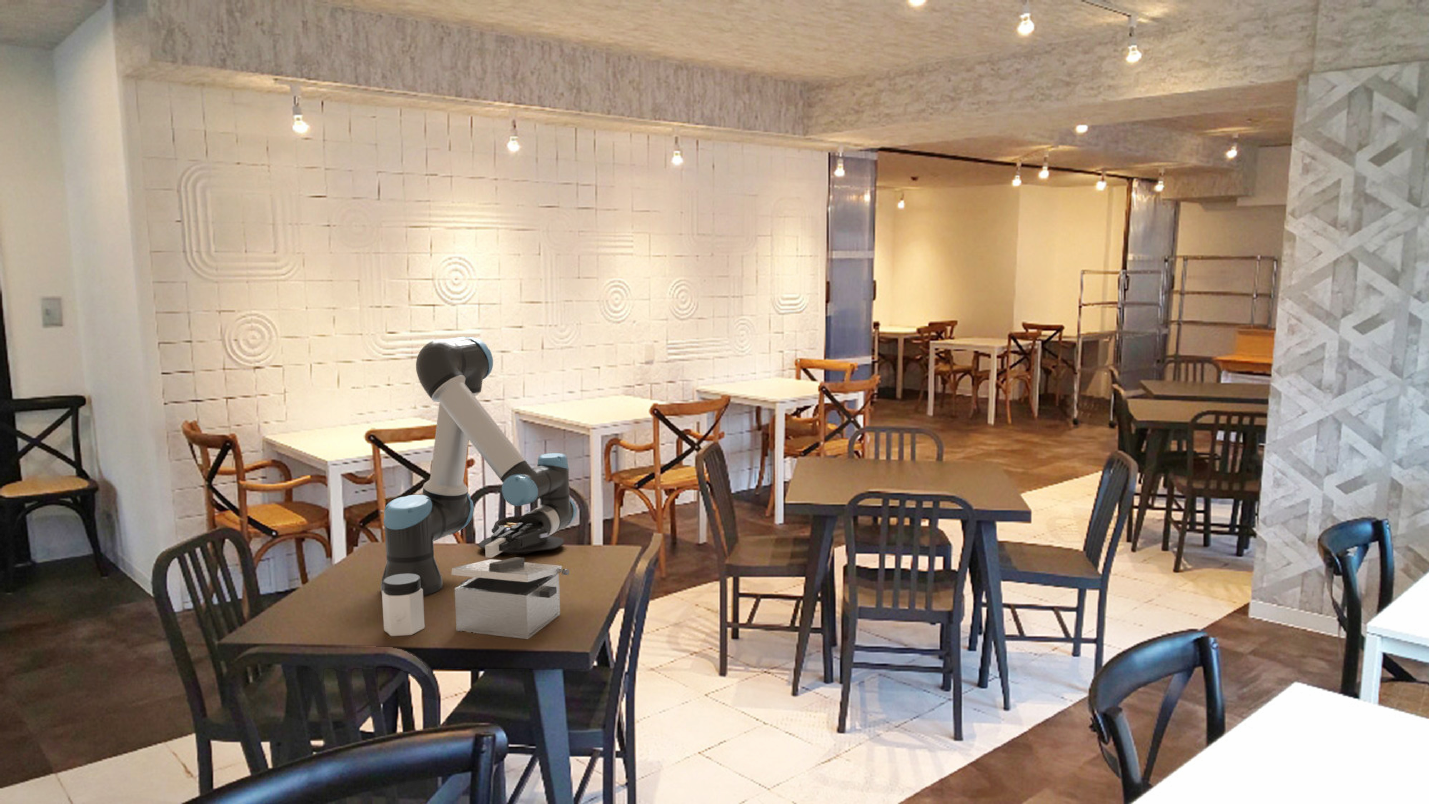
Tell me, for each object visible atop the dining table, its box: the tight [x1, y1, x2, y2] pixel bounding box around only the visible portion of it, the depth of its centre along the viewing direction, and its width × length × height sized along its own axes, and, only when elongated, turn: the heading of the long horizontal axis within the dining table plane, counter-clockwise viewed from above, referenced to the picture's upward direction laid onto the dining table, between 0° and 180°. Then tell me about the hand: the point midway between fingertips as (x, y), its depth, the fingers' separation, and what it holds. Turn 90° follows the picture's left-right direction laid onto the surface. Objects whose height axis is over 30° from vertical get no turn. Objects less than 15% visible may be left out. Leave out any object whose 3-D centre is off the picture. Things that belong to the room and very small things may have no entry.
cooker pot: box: [454, 568, 570, 640], centre depth 223 cm, size 18×23×11 cm
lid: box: [451, 556, 563, 582], centre depth 222 cm, size 17×19×3 cm
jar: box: [381, 573, 425, 637], centre depth 219 cm, size 9×8×12 cm
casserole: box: [478, 515, 565, 555], centre depth 282 cm, size 25×19×8 cm
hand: (488, 551), depth 213 cm, fingers closed
